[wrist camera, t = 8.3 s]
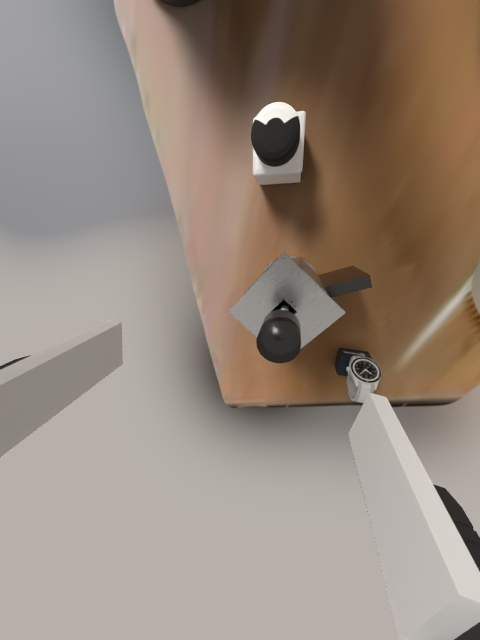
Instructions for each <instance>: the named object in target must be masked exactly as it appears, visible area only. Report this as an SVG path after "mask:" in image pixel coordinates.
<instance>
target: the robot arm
mask: <svg viewBox="0 0 480 640" xmlns="http://www.w3.org/2000/svg"><path fill="white" fill-rule="evenodd" d="M162 1H164V2H166V3H167V4H170V5H174V6H186V5H190V4H192V3H195V2H197V1H198V0H162ZM122 364H123V362H122V324H121V322H118V321H114V320H111V319H108V320H106V321H104V322H102V323H100V324H97V325H96V326H94V327H91V328H89V329H87V330H85V331H82V332H80V333H79V334H76V335H74V336H72V337H70V338H67V339H65V340H63V341H61V342H59V343H57V344H55V345H53V346H50V347H48V348H46V349H44V350H42V351H40V352H38V353H35V354H33V355H30V356H26V357H22V358H19V359H15V360H13V361H11V362H9V363H6V364H4V365H2V366H0V457H1V456H2V455H3V454H5V453H6V452H7V451H9V450H10V449H11V448H12V447H14V446H15V445H17V444H18V443H19V442H20V441H22V440H23V439H25V438H26V437H27V436H29V435H30V434H31V433H32V432H34V431H35V430H36V429H37V428H39V427H40V426H42V425H43V424H44V423H46V422H47V421H48V420H50V419H51V418H52V417H53V416H55V415H56V414H57V413H59V412H60V411H61V410H63V409H64V408H65V407H67V406H68V405H69V404H71V403H72V402H73V401H74V400H76V399H77V398H79V397H80V396H81V395H82V394H84V393H85V392H86V391H88V390H89V389H90V388H92V387H93V386H94V385H96V384H97V383H98V382H99V381H101V380H102V379H103V378H105V377H106V376H107V375H108V374H110V373H111V372H113V371H114V370H115V369H117V368H118V367H119V366H121V365H122ZM348 436H349V440H350V444H351V448H352V452H353V456H354V460H355V463H356V468H357V472H358V476H359V480H360V484H361V488H362V492H363V496H364V500H365V504H366V508H367V512H368V516H369V520H370V523H371V528H372V532H373V536H374V540H375V544H376V548H377V552H378V556H379V560H380V564H381V568H382V572H383V576H384V580H385V584H386V588H387V592H388V596H389V600H390V604H391V608H392V612H393V616H394V620H395V624H396V628H397V632H398V636H399V640H480V537H479V536H478V534H477V532H476V531H474V530H473V526H472V524H471V522H470V521H469V519H468V517H467V516H466V514H465V512H464V510H463V509H462V507H461V506H460V505H459V504H458V503H457V501H456V500H455V499H454V498H453V497H452V496H451V495H450V493H449V492H447V490H446V489H445V488H442V487H439V486H436V485H433V484H432V482H431V480H430V478H429V476H428V474H427V472H426V471H425V469H424V467H423V465H422V463H421V461H420V459H419V457H418V456H417V454H416V452H415V450H414V448H413V447H412V444H411V442H410V441H409V439H408V437H407V435H406V433H405V431H404V430H403V428H402V426H401V424H400V422H399V420H398V418H397V416H396V414H395V413H394V411H393V409H392V407H391V405H390V403H389V401H388V399H387V398H386V397H384V396H380V395H377V394H373V393H369V394H368V396H367V398H366V400H365V402H364V404H363V406H362V408H361V410H360V412H359V414H358V416H357V418H356V420H355V421H354V424H353V425H352V428H351V429H350V431H349V433H348Z"/></svg>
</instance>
